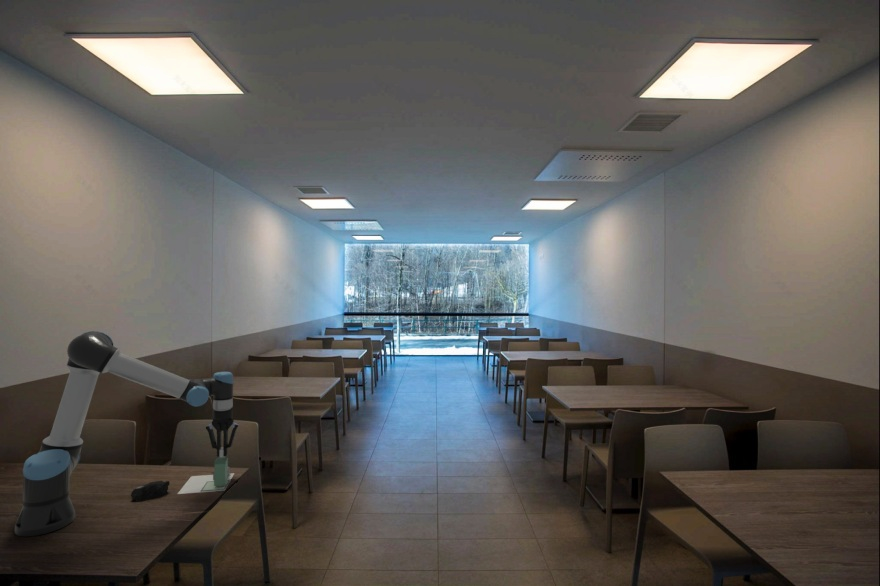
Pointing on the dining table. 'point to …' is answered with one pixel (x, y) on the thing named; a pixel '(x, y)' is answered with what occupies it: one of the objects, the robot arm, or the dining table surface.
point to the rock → (150, 490)
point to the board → (202, 484)
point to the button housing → (227, 473)
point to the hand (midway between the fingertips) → (221, 463)
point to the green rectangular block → (220, 471)
